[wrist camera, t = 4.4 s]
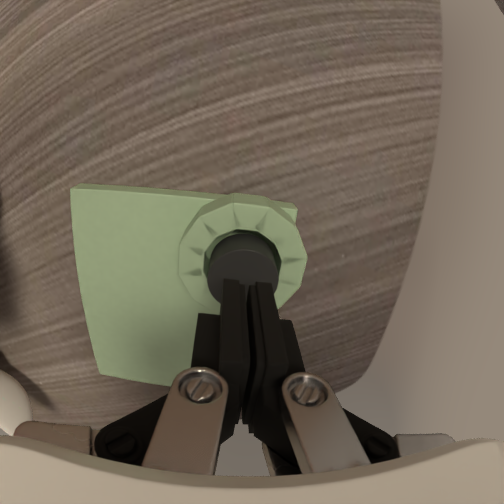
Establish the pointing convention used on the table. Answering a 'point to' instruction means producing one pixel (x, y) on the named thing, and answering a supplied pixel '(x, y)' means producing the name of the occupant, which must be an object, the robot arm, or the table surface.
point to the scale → (164, 268)
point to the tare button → (241, 263)
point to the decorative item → (13, 404)
